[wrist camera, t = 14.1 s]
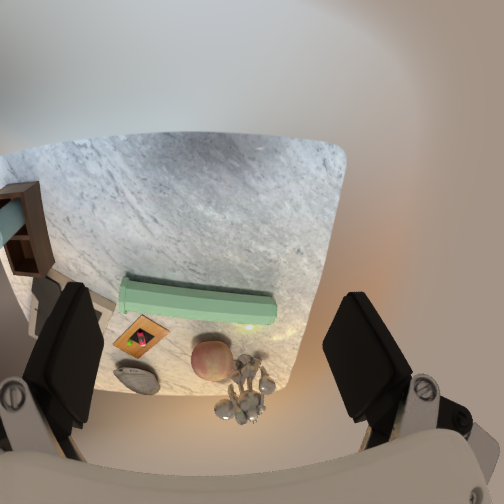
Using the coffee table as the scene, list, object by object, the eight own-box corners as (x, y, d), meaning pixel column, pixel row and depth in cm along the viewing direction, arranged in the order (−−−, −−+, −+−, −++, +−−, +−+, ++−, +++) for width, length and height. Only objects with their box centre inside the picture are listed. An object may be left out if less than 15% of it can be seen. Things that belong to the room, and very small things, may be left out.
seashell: (171, 376, 55) (171, 394, 51) (151, 387, 57) (150, 404, 53) (127, 352, 49) (124, 371, 45) (110, 366, 51) (106, 384, 47)
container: (284, 321, 41) (116, 304, 34) (271, 333, 46) (121, 319, 39) (280, 287, 45) (123, 268, 38) (268, 303, 49) (127, 287, 42)
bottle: (12, 194, 28) (-25, 224, 20) (31, 193, 29) (-7, 223, 21) (17, 220, 31) (-17, 253, 22) (36, 220, 31) (2, 254, 23)
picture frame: (41, 261, 36) (31, 327, 43) (34, 271, 33) (27, 337, 40) (116, 303, 42) (90, 359, 49) (112, 315, 40) (88, 369, 47)
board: (112, 344, 48) (111, 349, 46) (142, 314, 44) (140, 320, 43) (138, 358, 50) (137, 363, 49) (170, 331, 47) (169, 337, 46)
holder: (24, 260, 35) (13, 275, 31) (7, 184, 28) (-9, 195, 24) (55, 262, 36) (44, 277, 33) (38, 181, 29) (23, 191, 26)
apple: (182, 342, 49) (182, 377, 43) (211, 324, 48) (214, 360, 41) (210, 360, 53) (212, 392, 47) (239, 344, 52) (244, 377, 45)
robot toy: (224, 383, 59) (231, 440, 46) (204, 375, 56) (209, 434, 44) (273, 355, 55) (289, 416, 43) (255, 344, 52) (268, 410, 40)
